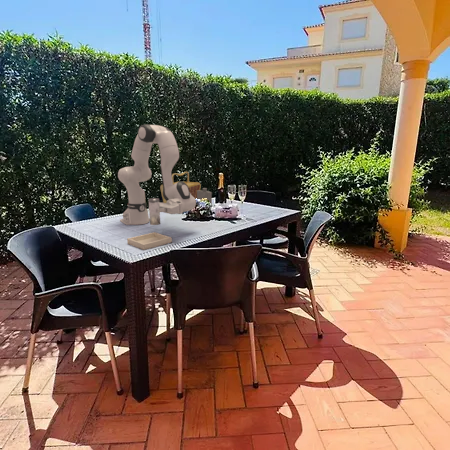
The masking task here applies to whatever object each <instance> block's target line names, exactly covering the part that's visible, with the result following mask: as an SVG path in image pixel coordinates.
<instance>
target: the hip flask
mask: <svg viewBox="0 0 450 450" xmlns="http://www.w3.org/2000/svg"><path fill="white" fill-rule="evenodd" d="M212 195H213V193H212V191H209V190H208V188H207V187H203V188H202V189H200V190H197V199H202V198H207V199H208V200H209V202H210V203H211V205H213V204H212V202H213V201H212V198H213V197H212Z"/></svg>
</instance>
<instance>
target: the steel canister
mask: <svg viewBox="0 0 450 450" xmlns="http://www.w3.org/2000/svg"><path fill="white" fill-rule="evenodd" d="M159 202H160V198H159V197H158V198H156V197H154V198H153V197H152V198H148V215H149V219H150V221H149V224H150V225H151V226H158V225H161V212H156V209H160V208H159Z"/></svg>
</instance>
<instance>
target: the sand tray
mask: <svg viewBox="0 0 450 450" xmlns="http://www.w3.org/2000/svg"><path fill="white" fill-rule="evenodd" d="M168 243H169V244H172V243H173V239H172V236H168V235H165V234H161V233H159V232H155V231H154V232H150V233H145V234H142V235H137V236H133V237H128V238H127V245H130V246H133V247H135V248H136V249H137V248H138V249H139V250H142V251H146V250H147V251H148V250H151V249H155V248H158V247H161V246H164V245H168Z"/></svg>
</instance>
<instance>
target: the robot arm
mask: <svg viewBox="0 0 450 450" xmlns="http://www.w3.org/2000/svg"><path fill="white" fill-rule="evenodd" d="M153 144H155V145H156V144H157V146H158V149H159V154H160V175H161V181H162V185H163V197H164V199H165V200H166V201H167V202H166V203H164V202H163V201H162V202H160V201H159V208H160V209H156V212H160V213H163V214H164V213H165V214H170V215H182V214H183V213H184V212H188V211H189V212H190V211H192V210H193V209H195V207H196V205H197V204H196V200H195V198H194V197H193V196H192V195H191V193H190V192H189V187H188V185H187V184H186V183H184V182H185V181H180V180H179V181H180V182H179V181H177V182H178V183H175V182H174V183H175V184H174V185H173V182H172V170H173V168H174V166H175V165H176V164H177V162H178V161H179V159H180V150H179V147H178V143H177V140H176V138H175V135H174V134H173V132H172V131H171V130H170V128H168V127H167V126H162V125H157V124H141V125H140V126H139V127H138V130H137V135H136V137H135V139H134V142H133V147H132V150H131V151H132V152H131V154H130V156H131V159H132V160H133V161H134V165H132V166H125V167H122V168H120V169H119V170H118V172H117V178H118V180H119V181H120V183H122V184H123V185H124V187H125V188H126V191H127V196H128V203H127V204H126V205H127V208H126V209H125V211H124V212H123V214H122V218H120V219H119V222H121V223H122V224H124V225H126V226H129V225H130V226H132V225H136V226H137V225H138V226H139V225H145V224H148V223H150V215H149V209H147V202H146V192H145V190H144V189H143V188H141V185H140V184H139V183H142V182H146V181H149V180H150V179H151V178H152V170H151V168H150V167H149V159H150V154H151V151H152V147H153Z"/></svg>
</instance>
